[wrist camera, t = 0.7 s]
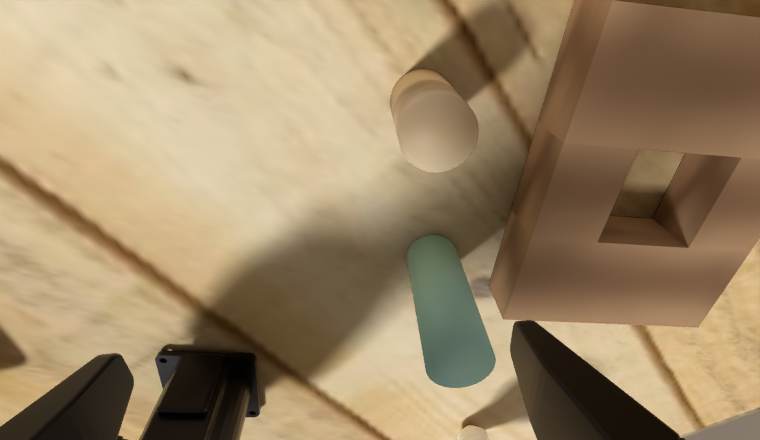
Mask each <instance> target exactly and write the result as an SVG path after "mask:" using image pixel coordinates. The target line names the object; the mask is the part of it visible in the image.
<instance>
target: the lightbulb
mask: <svg viewBox="0 0 760 440" xmlns="http://www.w3.org/2000/svg"><path fill="white" fill-rule="evenodd" d="M457 440H489V438H488V435H487V432H486V431H485V430H484V429H482V428H480V427H476V426H474V425H468V426H466V427H465V428H464V429H462V430H461V431H460V432H459V433H458V435H457Z"/></svg>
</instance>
